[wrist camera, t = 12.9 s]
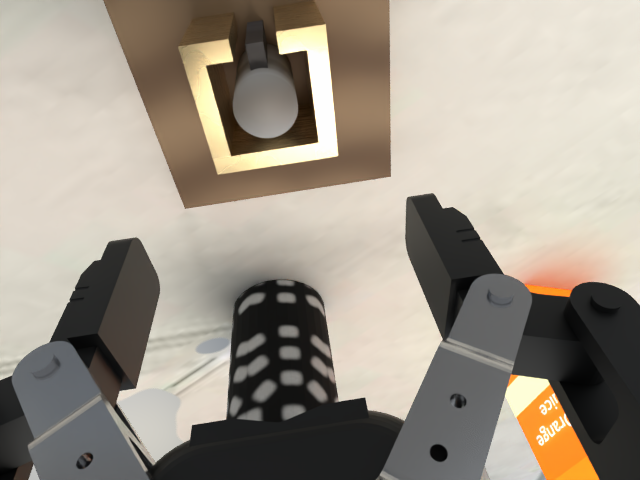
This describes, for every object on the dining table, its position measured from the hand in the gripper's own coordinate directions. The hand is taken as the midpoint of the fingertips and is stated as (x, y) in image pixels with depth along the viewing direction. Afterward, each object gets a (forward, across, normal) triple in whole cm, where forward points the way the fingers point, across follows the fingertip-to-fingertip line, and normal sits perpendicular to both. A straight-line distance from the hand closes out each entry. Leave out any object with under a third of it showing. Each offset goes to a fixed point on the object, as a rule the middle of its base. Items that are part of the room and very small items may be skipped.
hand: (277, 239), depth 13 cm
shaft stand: (+16, 0, -1) cm, 16 cm away
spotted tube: (+17, +3, +22) cm, 27 cm away
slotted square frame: (+14, 0, -1) cm, 14 cm away
